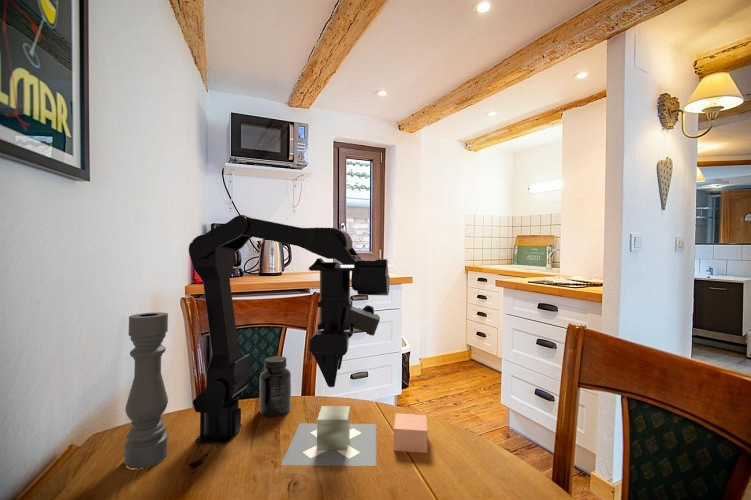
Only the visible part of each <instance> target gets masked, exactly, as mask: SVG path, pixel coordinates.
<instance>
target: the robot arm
mask: <svg viewBox="0 0 751 500" xmlns="http://www.w3.org/2000/svg"><path fill="white" fill-rule="evenodd" d="M251 238H252V239H253V238H258V239H263V240H267V241H270V242H271V241H272V242H276V243H282V244H286V245H292V246H295V247H296V246H297V247H298V248H299V247H300V248H302V249H305V250H306V251H308V252H310V253H313V254H315V255H318V256H319V258H316V260H315V262H314V263H312V264H311V265H310V266H309V267H308V271H311V272H315V271H316V272H319V300H318V301H317V308H319V322H318V323H317V330H316V332H315V333H314V334H313V335H312V336H311V337H310V339H309V340H308V343H309V345H308V346H309V347H308V349H309V350H308V351H309V352H310V353H311V355H312V356H313V357H314V360H315V361H316V363H317V365H318V368H319V370H320V372H321V375H322V376H323V378H324V380H325V383H326V385H327V387H328V388H335V386H336V380H337V377H338V370H340V369H341V367H342V362H343V357H344V356H345V355H346V354H347V353H348V350H349V344H350V343H349V342H350V338H351V337H352V336H353V335H354V331H355V329H356V330H358V331H361V332H364V333H366V334H367V335H369V336H375V335H376V331H377V330H378V329H377V328H378V326H379V324H380V321H381V320H380V319H381V317H380V316H379V314H377V313H375V310H374V309H375V308H374V306H371V305H369V304H366V305H365V306H364V307H362V309H361V307H355V306H353V300H352V298H351V289H352V290H353V291H355V292H356V293H357V295H359V296H389V294H390V283H391V282H390V281H391V280H390V275H389V266H388V259H387V258H381V259H379V258H378V259H362V258H361V257H360V255H359V254H358V253H357V251H356V250H355V248H354V247H353V240H352V237H351V235H349V233H348V232H347V231H345V230H342V229H339V228H336V227H299V226H295V225H288V224H285V223H278V222H274V221H268V220H263V219H257V218H255V217H253V216H248V215H244V214H239V215H236V216H234V217H233V218H232V219H230V220H229V221H227V222H226V223H222V224H221V225H219V226H217V227H215V228H212V229H211V230H209V231H208V232H206V233H204V234H199V235H198V236H196V237H194V238H193V240H192V241H191V242H190V243H189V245H188V254H189V257H190V261H191V265H192V268H193V270H194V271H195V273H196V274H197V275H198V277H199V279H200V280H201V281H202V284H203V293H204V302H205V308H206V316H207V324H208V331H209V340H210V346H211V357H210V360H209V364H208V366H207V369H206V372H205V373H206V374H205V375H206V376H205V388H204V389H203V390H202V391H201V392H200V393H199V394H198V395H197V396H196V397H195V398H194V399H193V400H192V405H193V408H194V411H195V413H199V435H198V436H197V437H196V439H195V440H194V443H195V444H227V443H229V442H230V441H231V440H232V439H233V437H234V436H236V435H237V434H238V432H239V431H241V430H240V429H242V427H243V424H242V409H241V408H240V407H239V404H240V402H239V398H240V397H241V396H242V395H243V392H244V391H245V389H246V388H247V387H248V386H249V384H250V383H251V382H252V376H253V374H254V373H255V371H254V369H253V367H252V355H251V354H250V353H249V354H245V355H244V353H243V352H242V350H241V349H240V347H239V343H238V340H239V339H238V333H237V325H236V317H235V310H234V303H233V302H234V301H233V295H232V287H231V280H230V279H231V275H232V273H233V269H234V266H235V253H237V252H238V251H239V250H242V248H244V247H245V245H246V244H247V243H248V241H250V239H251ZM320 257H321V258H320ZM322 257H323V258H325V259H327V260H328V259H329V260H337V261H328V262H327V261H324V260H323V258H322ZM340 263H341V264H342V265H352V266H353V267H342V266H341V264H340Z"/></svg>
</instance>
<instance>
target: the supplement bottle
mask: <svg viewBox="0 0 751 500" xmlns="http://www.w3.org/2000/svg"><path fill="white" fill-rule="evenodd" d="M286 367H287V357H285V356H279V355H278V356H270V357H267V358H265V359H264V365H263V369H264V370H263V371H262V372H261V373H260V375H259V415H261V416H263V417H265V418H278V417H282V416H284V415H286V414H288V413H290V411H291V410H292V409H291V408H292V395H291V394H292V386H291V385H292V384H291V383H292V380H291V379H292V376H291V375H292V373H291V371H290V370H289V369H288V368H286Z"/></svg>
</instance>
